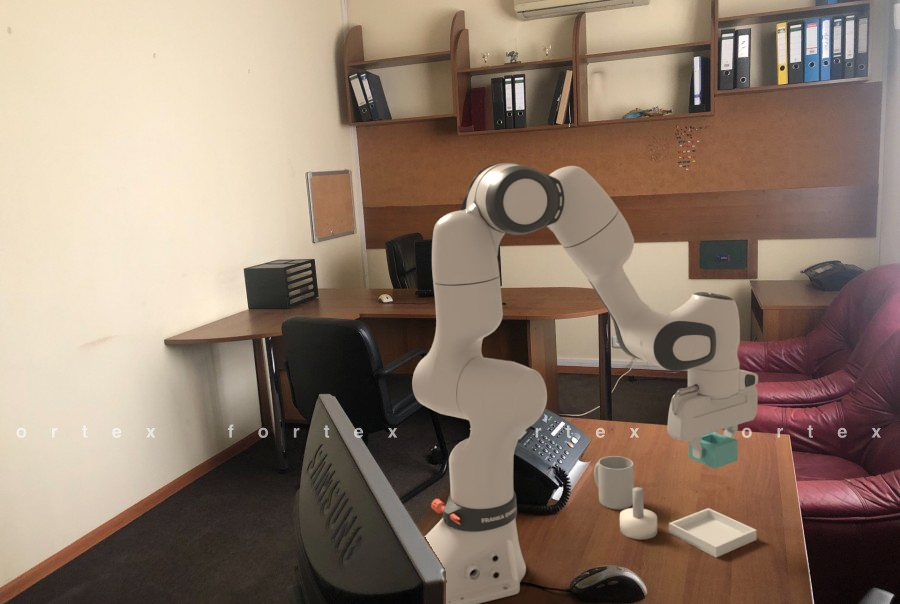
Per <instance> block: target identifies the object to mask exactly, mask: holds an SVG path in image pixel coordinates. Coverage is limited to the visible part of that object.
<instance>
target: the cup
mask: <svg viewBox="0 0 900 604" xmlns="http://www.w3.org/2000/svg"><path fill="white" fill-rule="evenodd" d="M593 475H594V477H593V478H594V481H595V484H596V487H597V488H598V500H599V501H598V502H599V503H600V505H602V506H603V507H604V508H606V509H611V510H625V509H629V508H630V507H631V506H633V488H635V487H634V486H635V485H634V462H633V461H632V459H630V458H627V457H624V456H621V455H619V456H618V455H611V456H610V455H609V456H608V455H607V456H604V457H601V458H600V459H598V461H597V462H596V463H595V465H594V470H593Z"/></svg>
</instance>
